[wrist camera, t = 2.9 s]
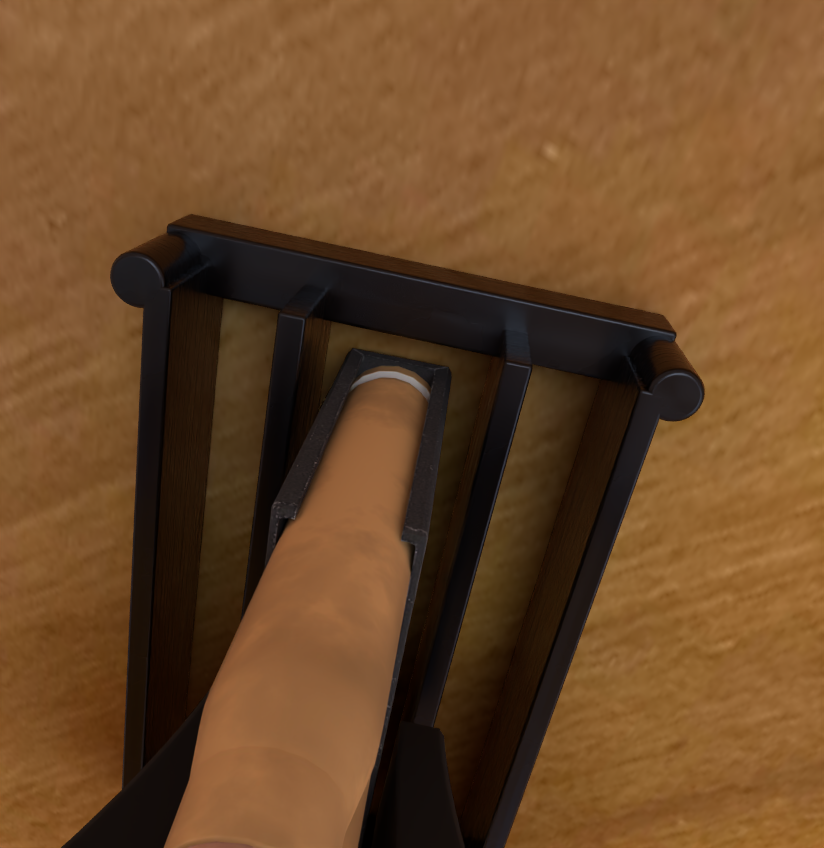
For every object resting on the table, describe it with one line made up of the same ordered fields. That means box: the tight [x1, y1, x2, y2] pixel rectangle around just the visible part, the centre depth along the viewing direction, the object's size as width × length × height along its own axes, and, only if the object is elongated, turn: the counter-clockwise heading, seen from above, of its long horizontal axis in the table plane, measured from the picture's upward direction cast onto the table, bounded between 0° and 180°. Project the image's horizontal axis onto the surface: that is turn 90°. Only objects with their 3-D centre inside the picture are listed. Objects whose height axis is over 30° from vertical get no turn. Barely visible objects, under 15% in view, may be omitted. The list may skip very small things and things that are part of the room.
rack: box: [110, 214, 705, 848], centre depth 15 cm, size 8×14×2 cm, turn 169°
